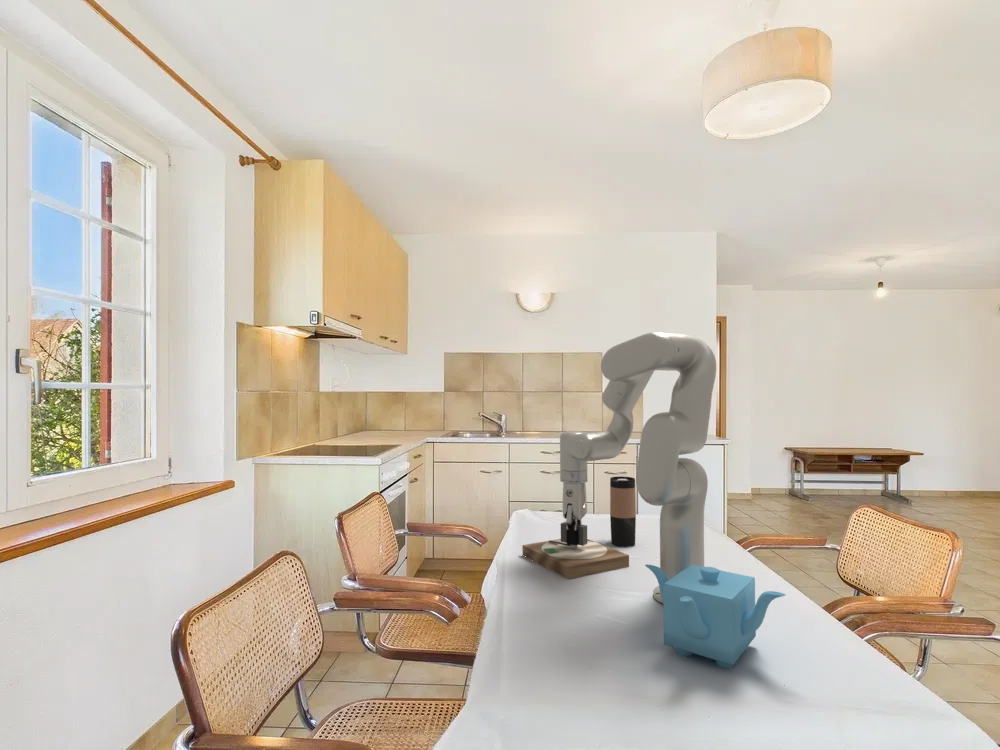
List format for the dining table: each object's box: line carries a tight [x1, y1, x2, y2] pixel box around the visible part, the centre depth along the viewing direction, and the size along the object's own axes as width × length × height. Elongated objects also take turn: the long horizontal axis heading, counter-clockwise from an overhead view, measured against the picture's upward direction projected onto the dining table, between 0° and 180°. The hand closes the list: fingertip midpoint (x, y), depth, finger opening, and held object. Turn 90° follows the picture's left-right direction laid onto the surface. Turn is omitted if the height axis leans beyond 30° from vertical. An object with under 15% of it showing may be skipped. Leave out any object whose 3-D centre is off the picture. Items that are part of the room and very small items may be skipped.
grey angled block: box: [548, 521, 588, 548], centre depth 152 cm, size 12×2×6 cm, turn 54°
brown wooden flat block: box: [522, 538, 630, 580], centre depth 150 cm, size 22×20×4 cm
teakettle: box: [644, 564, 786, 670], centre depth 99 cm, size 19×19×15 cm
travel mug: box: [609, 476, 637, 548], centre depth 167 cm, size 8×8×20 cm
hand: (574, 541), depth 150 cm, fingers closed on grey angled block, 3 cm apart
